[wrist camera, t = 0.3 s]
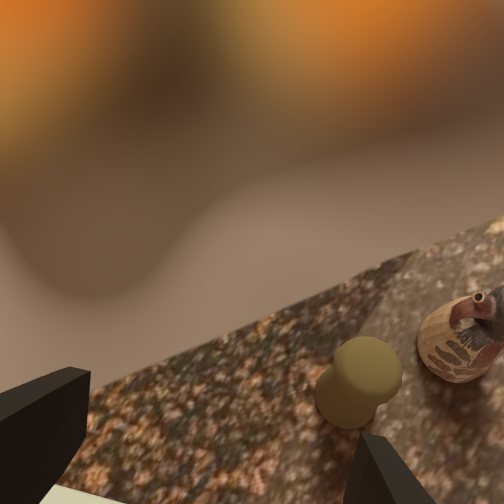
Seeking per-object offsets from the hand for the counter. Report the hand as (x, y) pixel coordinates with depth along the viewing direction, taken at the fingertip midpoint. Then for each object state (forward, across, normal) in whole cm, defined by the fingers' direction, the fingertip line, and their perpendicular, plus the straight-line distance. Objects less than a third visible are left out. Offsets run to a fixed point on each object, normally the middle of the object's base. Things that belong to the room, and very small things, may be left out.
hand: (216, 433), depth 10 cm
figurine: (+31, -19, +8) cm, 38 cm away
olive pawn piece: (+27, -9, +14) cm, 32 cm away
